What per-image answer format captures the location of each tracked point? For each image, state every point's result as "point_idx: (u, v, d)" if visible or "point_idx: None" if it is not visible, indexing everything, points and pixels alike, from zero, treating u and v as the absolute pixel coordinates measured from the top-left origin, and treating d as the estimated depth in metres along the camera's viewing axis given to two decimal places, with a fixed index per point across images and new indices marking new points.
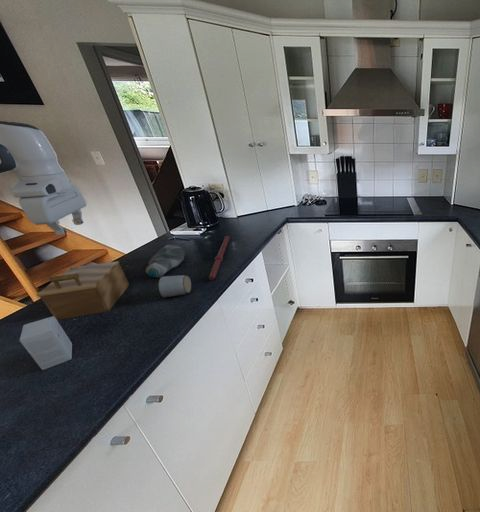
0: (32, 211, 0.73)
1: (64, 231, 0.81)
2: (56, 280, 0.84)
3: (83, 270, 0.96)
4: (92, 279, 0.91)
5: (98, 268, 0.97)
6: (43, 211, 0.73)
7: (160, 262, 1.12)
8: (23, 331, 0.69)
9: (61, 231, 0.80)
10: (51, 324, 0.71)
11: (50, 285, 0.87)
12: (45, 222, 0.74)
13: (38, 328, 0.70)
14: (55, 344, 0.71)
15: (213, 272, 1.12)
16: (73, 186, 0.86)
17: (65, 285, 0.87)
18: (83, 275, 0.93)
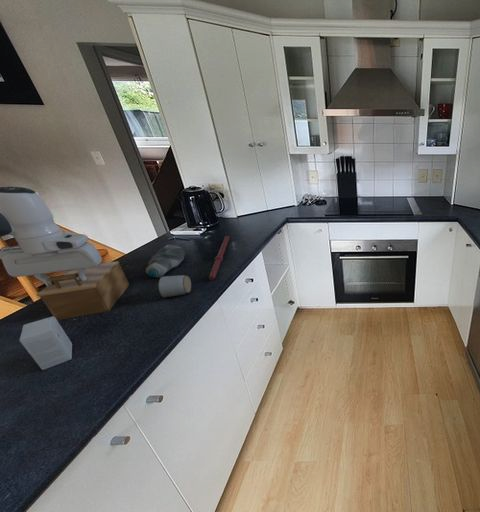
0: (94, 254, 0.86)
1: None
2: (56, 280, 0.84)
3: None
4: (92, 279, 0.91)
5: (98, 268, 0.97)
6: (97, 251, 0.87)
7: (160, 262, 1.12)
8: (23, 331, 0.69)
9: (85, 276, 0.88)
10: (50, 324, 0.71)
11: None
12: (101, 261, 0.88)
13: (38, 328, 0.70)
14: (55, 344, 0.71)
15: (213, 272, 1.12)
16: None
17: (65, 285, 0.87)
18: None
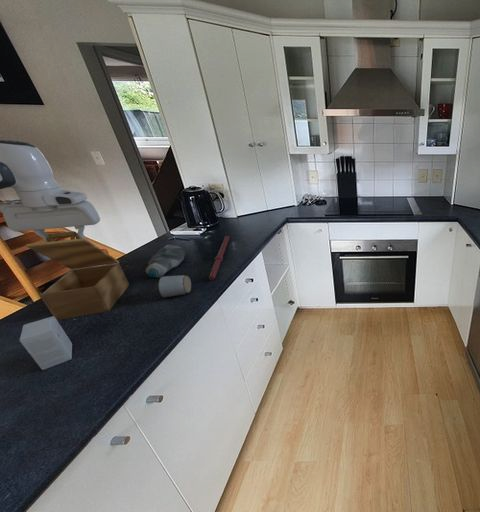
0: (92, 212, 0.88)
1: None
2: (54, 235, 0.86)
3: None
4: None
5: None
6: None
7: (160, 262, 1.12)
8: (23, 331, 0.69)
9: (83, 234, 0.90)
10: (50, 324, 0.71)
11: None
12: (99, 220, 0.90)
13: (38, 328, 0.70)
14: (55, 344, 0.71)
15: (213, 272, 1.12)
16: None
17: None
18: None
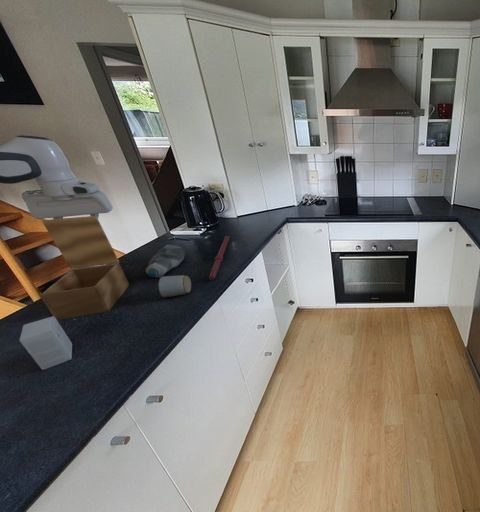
0: (106, 201, 0.96)
1: None
2: None
3: None
4: None
5: None
6: (108, 200, 0.98)
7: (160, 262, 1.12)
8: (23, 331, 0.69)
9: None
10: (50, 324, 0.71)
11: None
12: (111, 208, 0.99)
13: (38, 328, 0.70)
14: (55, 344, 0.71)
15: (213, 272, 1.12)
16: None
17: None
18: None
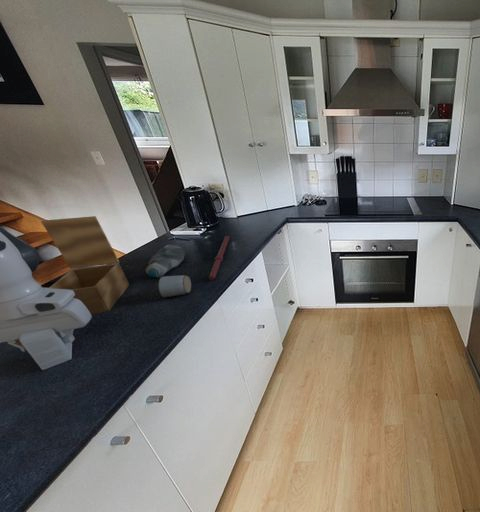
0: (82, 312, 0.72)
1: None
2: None
3: None
4: None
5: None
6: (86, 308, 0.74)
7: (160, 262, 1.12)
8: None
9: (72, 336, 0.75)
10: None
11: None
12: (90, 319, 0.75)
13: None
14: (55, 344, 0.71)
15: (213, 272, 1.12)
16: None
17: None
18: None
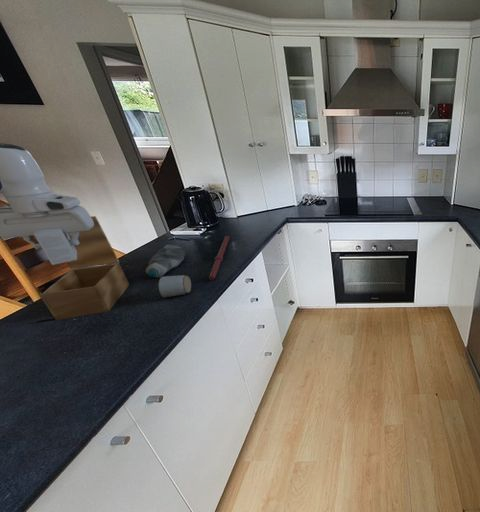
0: (86, 217, 0.84)
1: None
2: None
3: None
4: None
5: None
6: (89, 216, 0.86)
7: (160, 262, 1.12)
8: None
9: None
10: None
11: None
12: None
13: None
14: (63, 243, 0.83)
15: (213, 272, 1.12)
16: None
17: None
18: None
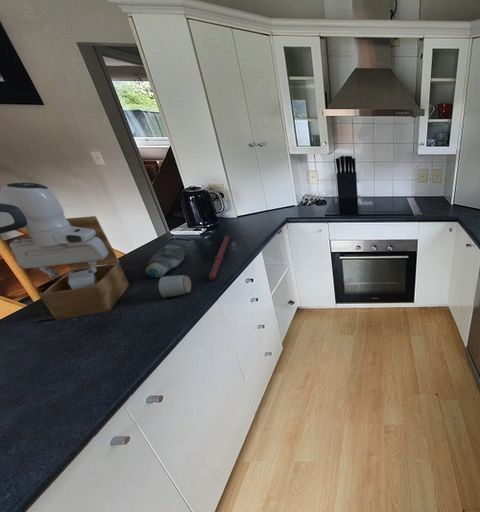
0: (101, 247, 0.90)
1: None
2: None
3: None
4: None
5: None
6: (104, 245, 0.92)
7: (160, 262, 1.12)
8: (70, 277, 0.90)
9: (95, 268, 0.92)
10: (89, 274, 0.93)
11: None
12: None
13: (81, 276, 0.91)
14: None
15: (213, 272, 1.12)
16: None
17: None
18: None
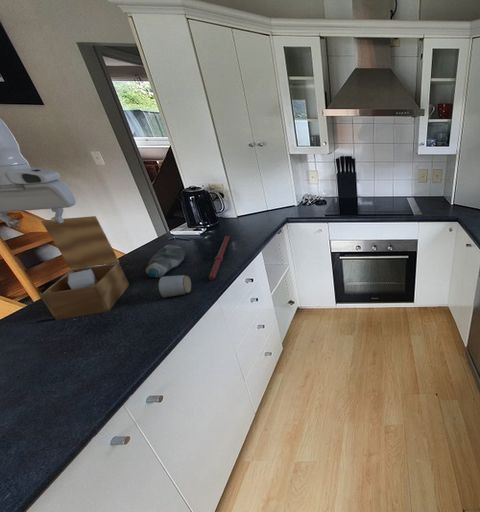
0: (66, 193, 0.78)
1: None
2: None
3: None
4: None
5: None
6: (71, 192, 0.80)
7: (160, 262, 1.12)
8: (69, 277, 0.90)
9: (62, 218, 0.81)
10: (89, 274, 0.93)
11: None
12: None
13: (80, 276, 0.91)
14: None
15: (213, 272, 1.12)
16: None
17: None
18: None
